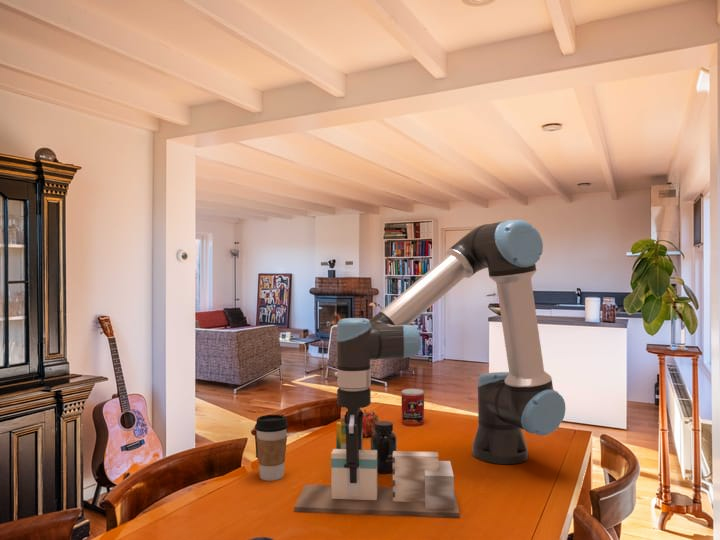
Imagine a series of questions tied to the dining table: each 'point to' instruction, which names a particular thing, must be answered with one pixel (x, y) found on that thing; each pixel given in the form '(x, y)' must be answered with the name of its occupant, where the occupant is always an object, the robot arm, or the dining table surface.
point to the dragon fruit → (369, 422)
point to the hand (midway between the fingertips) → (354, 492)
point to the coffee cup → (271, 446)
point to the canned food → (412, 407)
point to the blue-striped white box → (366, 474)
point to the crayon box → (342, 435)
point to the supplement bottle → (384, 445)
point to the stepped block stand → (395, 491)
